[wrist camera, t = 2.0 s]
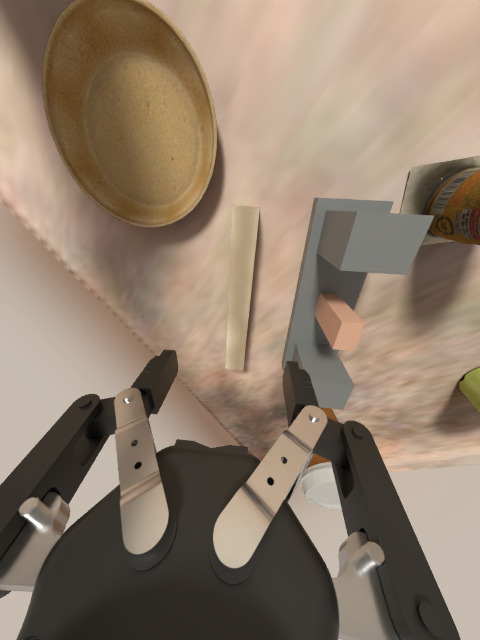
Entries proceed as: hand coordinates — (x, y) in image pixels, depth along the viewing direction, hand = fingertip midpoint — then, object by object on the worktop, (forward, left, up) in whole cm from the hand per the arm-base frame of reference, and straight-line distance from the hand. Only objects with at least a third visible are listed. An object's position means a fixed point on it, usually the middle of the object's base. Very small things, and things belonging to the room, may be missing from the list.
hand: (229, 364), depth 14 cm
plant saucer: (-10, +15, -14) cm, 23 cm away
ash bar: (0, 0, -14) cm, 14 cm away
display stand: (+10, 0, -13) cm, 17 cm away
